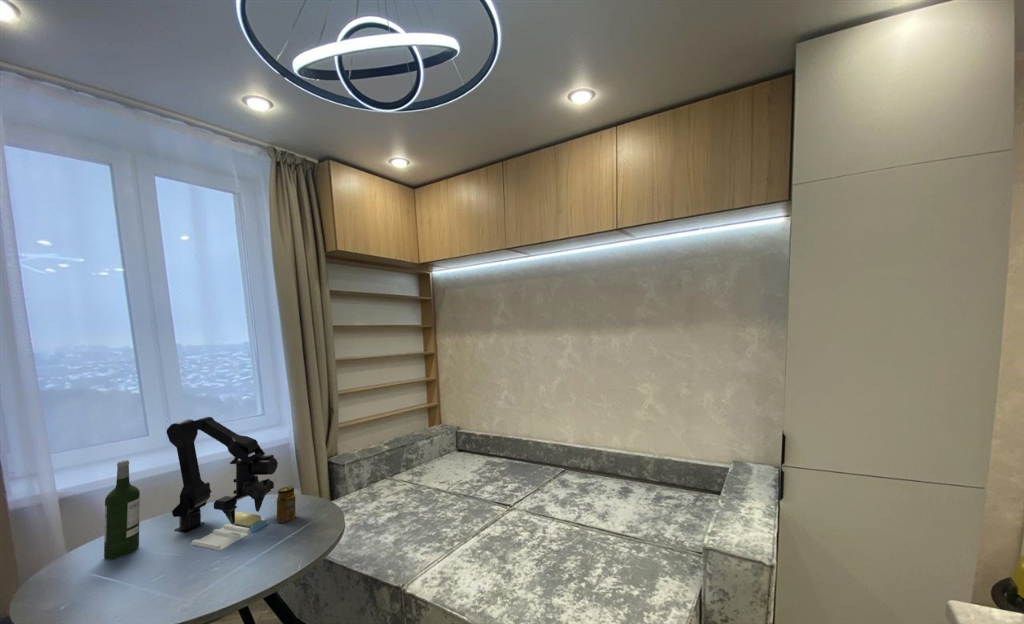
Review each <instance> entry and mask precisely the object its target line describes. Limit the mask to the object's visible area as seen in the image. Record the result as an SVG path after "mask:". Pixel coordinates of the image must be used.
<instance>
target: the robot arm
mask: <svg viewBox="0 0 1024 624" xmlns="http://www.w3.org/2000/svg"><path fill="white" fill-rule="evenodd" d="M199 431H200V432H203V433H204V434H206V435H208V436H209V437H211V438H212V439H214V440H216V441H217V442H218V443H221V444H222V445H223V446H225V448H226V449H227V451H228V452H229V453H230V455H231V456H233V457H234V458H233V459H232V461H230V462H229V464H230V465H235V478H234V479H233V483H235V489H234V490H233V495H234V494H235V495H234V496H228V495H225V496H222V497H221V498H217V499H216V500H214V503H213V510H218V511H222V513H224V515H225V516H226V518H227V520H228V521H229V522H230V523H229V524H234V523H235V513H236V509H237V508H238V505H237V502H238V501H239V500H242V499H244V498H246V497H251V499H252V500H254V508H255V512H257V513H259V512H260V510H261V507H262V504H263V502H264V499H265V497H266V495H268V494H269V493H270V492H272V490H273V489H274V488H275V482H274V481H273V480H271V479H270V478H266V479H262V480H259V477H258V476H263V475H264V476H266V475H267V476H268V475H274V474H275V472H276V471H277V469H278V465H279V463H278V460H277V458H275V457H274V456H275V455H274V454H269V455H268V454H267V455H266V452H264V450H263V449H262V448H261V446H260V445H259V442H258V441H257V439H255V438H252V437H251V436H246V435H240V434H237V432H235V431H233V430H231V429H229V428H227V427H226V426H225V425H223V424H221V423H220V422H218V421H217V420H215V419H214V418H213V417H212V416H206V417H205V416H204V417H202V418H199V419H195V420H194V419H185V420H181V421H178V422H174V423H172V424H170V425H169V426H168V428H167V429H166V435H167V438H168V440H169V442H170V443H171V445H173V446H174V447H175V448H176V452H177V456H178V457H177V458H178V462H179V463H178V464H179V468H180V473H181V474H180V475H181V479H182V483H183V485H182V488H181V492H180V493H179V503H178V504H176V506H175V508H173V510H172V511H171V514H172V516H173V517H174V518H179V519H178V522H179V526H178V527H177V528H175V529H174V530H173V531H174V532H180V533H184V534H187V533H188V532H191V531H193V530H196V529H198V528H200V527H201V526H204V525H205V524H206V522H202V517H201V516H202V515H201V508H202V507H205V506H207V503H208V500H209V499H210V498H211V493H212V490H211V486H210V485H211V484H210V482H208V481H207V482H204V481H203V480H202V478H201V472H200V468H199V467H200V466H199V462H198V455H197V451H196V445H195V441H196V438H197V436H198V433H199Z"/></svg>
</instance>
